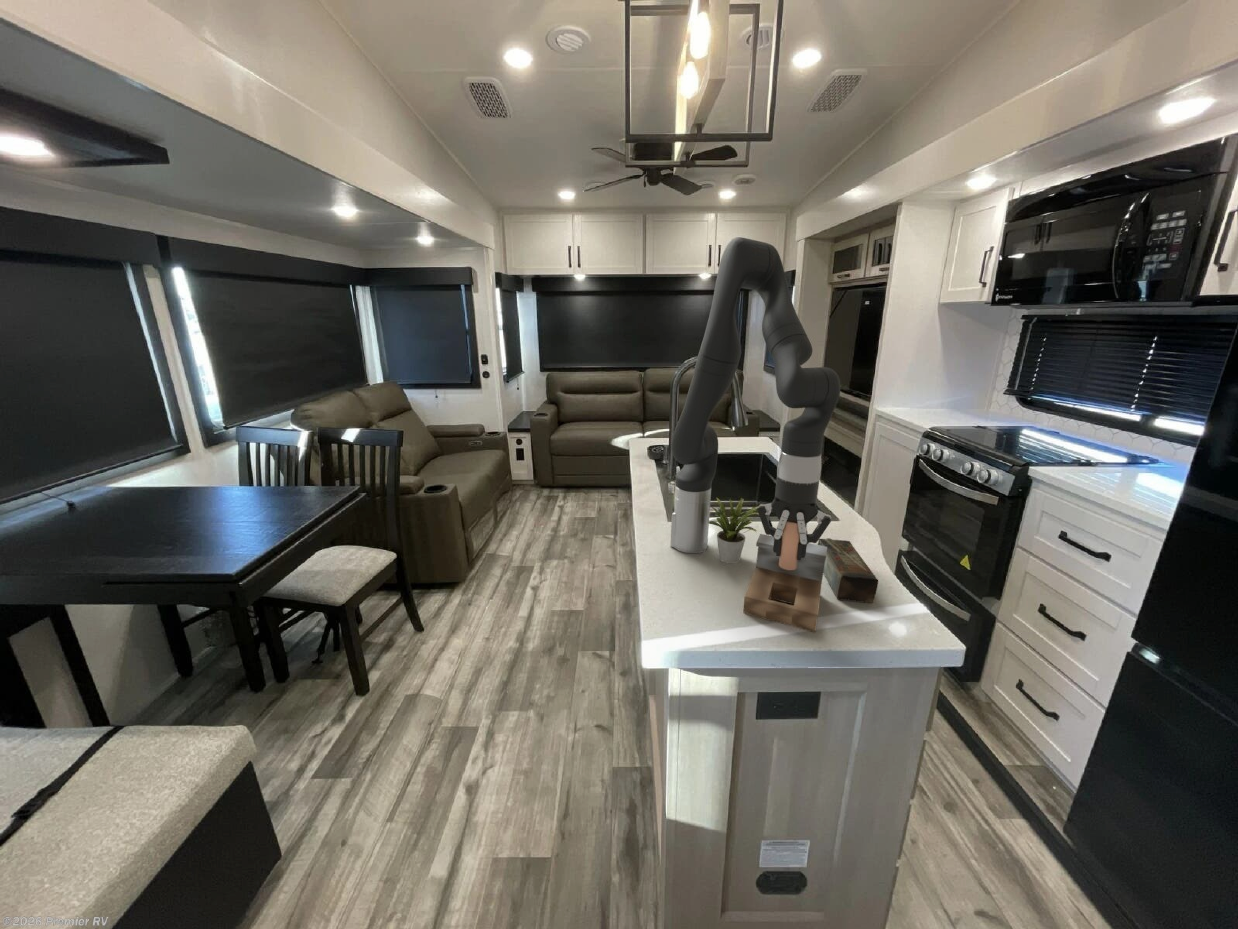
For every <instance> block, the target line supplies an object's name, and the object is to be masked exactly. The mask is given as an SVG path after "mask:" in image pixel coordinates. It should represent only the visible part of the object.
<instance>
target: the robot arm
mask: <svg viewBox="0 0 1238 929" xmlns="http://www.w3.org/2000/svg"><path fill="white" fill-rule="evenodd" d="M741 289H745V290H753V291H755V292H757V294H759V296H760V298H761V299H762V300H763V303H764V307H765V309H764V314H763V317H762V321H761V322H762V324H761V331H762V336H763V340H764V343H765V344H766V347H767V350H768V351H769V355H770V356H771V358H772V360H773V367H774V374H775V375H774V377H775V388H776V394H777V397H778V398H779V400H780V402H782V404H783V405H784V406H786V407H787V408H789V409H803V411H802V413H801V415H800V416H798V417H796V418H793V419H790V420H789V421H787V422H786V423H785V424H784V426H783V431H782V438H781V448H780V455H779V458H778V465H777V468H776V484H775V492H774V499H773V500H772V501H771V502H770V503H764V502H762V503H760V504H759V505H758V506H759V508H757V510H758V511H757V513H759V514H758V516H759V518H760V519H759V520H760V521H761V524H762V528H763V530H764V534H765V535H769V536H773V537H774V546H773V551H774V553H776V556H780V550H781V541H782V532H783V529H784V527H785V524H786V521H787V522H793V523H798V529H799V534H800V542H799V548H798V556H797V560H800V561H801V558H804V557H805V555H806V548H807V544H808V543H810V544H818V541H819V539H821V537H822V536H823V534H824V533H825V531H826V529H827V528H828V526H829V525H830V524H831V522H832V515H831V513H830V512H829V513H828V512H827V513H825V512H823V511H822V510H819V507H818V504H817V503H818V502H817V501H818V495H819V494H818V492H819V488H820V478H821V473H822V472H821V471H822V453H823V452H822V451H823V444H824V439H825V438H824V434H825V432H826V430H827V427H828V425H829V423H830V421H831V419H832V415H833V413H834V411H835V408H836V407H837V404H838V401H839V399H840V394H841V387H842V386H841V380H840V377H839V375H838V374H837V372H836V371H835V370H834V369H832V367H831V368H830V367H826V366H825V367H824V366H821V367H820V366H819V367H802V366H803V365H805V364H806V363H807V362H808V361H809V360H810V359H811V357H812V355H813V346H812V344H811V343H812V342H811V340H810V339H809V337H808V335H807V332H806V331H805V329H804V327H803V325H802V323H801V320H800V319H799V318H800V317H799V316H798V313H797V312H796V309H795V306H794V304H793V300H792V297H791V293H790V288H789V285H788V281H787V278H786V274H785V270H784V267H783V262H782V259H781V256H780V253H779V251H778V250H777V248H776V247H775V246H774V245H772V244H770V243H768V242H764V241H760V240H755V239H753V238H752V239H751V238H746V237H743V236H742V237H741V236H739V237H738V236H737V237H735V238H732V239H731V240H730V241H729V242H728V243H727V244H726V246H725V248H724V251H723V253H722V255H721V258H720V262H719V265H718V269H717V276H716V279H715V284H714V291H713V297H712V302H711V307H710V310H709V316H708V320H707V322H706V327H705V331H704V334H703V338H702V342H701V345H700V347H699V348H700V349H699V352H698V355H697V359H696V361H695V362H696V363H695V365H694V370H693V376H692V378H691V381H690V384H689V388H688V392H687V396H686V400H685V403H684V405H683V409H682V411H681V414H680V416H679V419H678V421H677V424H676V427H675V429H674V431H673V435H672V438H671V442H670V447H671V448H670V450H671V453H672V456H673V458H674V459H675V461H676V462H678V463H679V464H680V465H683V466H682V468H681V469H680V471H678V472H677V474H676V477H675V488H674V510H673V512H672V513H671V521H670V522H671V524H670V547H671V548H674V549H676V550H677V551H679V552H682V553H685V554H699V553H702V552H705V551H706V550H707V549H708V541H709V527H710V524H709V523H708V522H710V514H711V513H710V512H711V510H710V509H711V497H712V482H713V480H714V479H715V476H716V474H717V465H718V454H719V438H718V435H717V433H716V430H715V429H714V428H713V427H712V426H711V425H709V421H710V418H711V417H712V414H713V412H714V410H715V409H716V407H717V406H718V405H719V403H720V402H721V401H722V399H723V397H724V396H725V395H726V393H727V391H728V390H729V388H730V386H731V385H732V383H733V380H734V378H735V375H736V372H737V369H738V366H739V363H740V358H741V355H742V346H741V338H740V334H739V330H738V327H737V321H736V308H737V304H738V298H739V295H740V290H741ZM772 510H773V513H774V514H775V515H776V517H777V519H778V521H779V522H778V524H777V527H774V526H773V523H772V520H771V517H770V514H771V512H772ZM815 517H817V520H816V522H817V525H816V527H815V528H814V530H813V532H812V533H808V524H809V522H810V521H811V520H812V519H814V518H815Z"/></svg>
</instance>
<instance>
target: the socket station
mask: <svg viewBox="0 0 1238 929" xmlns="http://www.w3.org/2000/svg"><path fill="white" fill-rule="evenodd" d="M756 540H757V541H756V544H755V546H756V547H757V556H756V566H755V568H754V571H753V574H752V576H751V579H750V582H749V584H748V586H747V589H746V591H745V594H744V600H743V610H742V613H743V614H747V615H749V616H754V617H757V618H761V619H765V620H768V621H773V622H776V623H780V624H784V625H787V626H790V627H794V628H798V629H802V630H805V631H809V632H813V633H815V632H816V630H817V622H818V618H819V609H820V607H819V606H820V602H821V601H820V599H821V591H822V584H823V577H824V573H823V571H824V565H825V561H826V553H827V547H825V546H820V545H818V544H816V543H808V544H807V548H806V555H805V557H804V558H801V561H800V560H798V561H797V568H796V569H795V570H786V569H783V568H781V567H780V566H779V558H780V556H776V553H774V551H773V546H774V537H773V536H771V535H767V534H765V533H764V534H762V533H760V534H759V535H758V538H757V539H756ZM773 599H774V600H773ZM776 600H777V601H776ZM779 601H780V602H779ZM787 603H789V604H787ZM792 604H793V605H792Z"/></svg>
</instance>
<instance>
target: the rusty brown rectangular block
mask: <svg viewBox="0 0 1238 929" xmlns="http://www.w3.org/2000/svg"><path fill="white" fill-rule="evenodd" d="M817 545H820V546H825V547H827V553H826V561H825V565H824V571H823V576H825V578H826V581H827V583H828V584H829V586H830V589H831V590H832V592H833V594H834V595H835V597H836V599H837V600H841V601H848V602H849V601H851V602H856V603H857V602H860V603H868V604H873V603H874V602H875V598H876V594H877V589H878V585H879V579H878V578H877V577H876V575H875V574H874V573H873V571H872V570H871V569H870V567H869V566H868V564H867V563H866V562H865V561H864V559H863V558H862V557H861V555H860V554H859V552H858V551H857V549H856V548H855V546H853V544H852V542H851V541H850V540H846V539H845V540H840V539H832V538H831V537H826V538H819V540H818V541H817Z"/></svg>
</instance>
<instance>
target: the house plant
mask: <svg viewBox="0 0 1238 929" xmlns="http://www.w3.org/2000/svg"><path fill="white" fill-rule="evenodd" d="M716 500H717V503H718V506H719V508H720V512H719V511H718V509H716V508H715V507H713V506H711V508H712V509H713V510H714V511H715V513H716V514H717V516H719V517H716V521H717V522H716V521H714V520H709V522H708V523H709V525H713V526H716V527H719V528H721V531H718V533H717V534H716V538H717V549H718V557H719V559H720V560H721V562H724V563H728V564H736V563H738V562H740V559H741V556H742V553H743V549H744V546H745V542H746V536H745V533H746V531H744V532H743V533H742V532H740V531H742V530H746V529H747V532H748V531H754V532H755V533H756V534H757V531H758V530H757V529H755V528H754V527H752V526H749V525H750V524H753V523H752V522H754V520H755V519H756V517H750V518H748V517H749V516H751V515H759V512H758V508H759V506H760V505H758V506H756V507H755V506H754V507H753V508H750V509H749V510H747V511H743V512H742V509H743V503H744V498H743V497H741V498H740V499H739V502H738V503H737V505H736V507H735V509H734V505H733V502H732V500H731V498H729V506H730V509H729V508H728V509H726V507H725V505H724V503H722V501H721V499H719V498H718V497H716ZM727 510H729V512H730V516H729V518H728V513H727ZM756 511H757V512H756ZM741 515H742V516H741ZM739 516H741V517H740V518H739Z"/></svg>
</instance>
